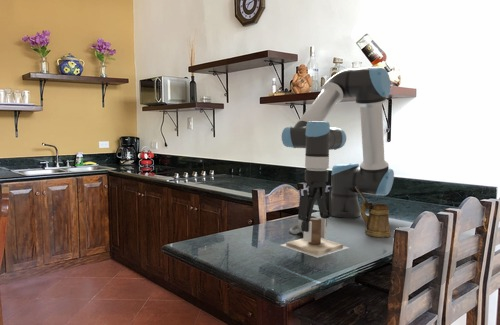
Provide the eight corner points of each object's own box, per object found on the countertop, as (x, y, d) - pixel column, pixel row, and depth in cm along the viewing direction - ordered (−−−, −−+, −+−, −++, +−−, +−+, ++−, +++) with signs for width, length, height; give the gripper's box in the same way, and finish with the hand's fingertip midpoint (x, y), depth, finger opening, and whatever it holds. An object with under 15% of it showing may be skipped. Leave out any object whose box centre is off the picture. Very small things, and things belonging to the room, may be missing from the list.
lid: (312, 238, 141) (313, 213, 140) (342, 247, 131) (343, 220, 130) (286, 245, 132) (286, 218, 131) (316, 255, 122) (317, 226, 122)
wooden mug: (351, 230, 155) (353, 184, 153) (388, 231, 153) (390, 185, 151) (354, 236, 146) (356, 187, 144) (393, 238, 144) (395, 188, 142)
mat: (312, 238, 143) (312, 236, 143) (349, 249, 131) (349, 247, 131) (279, 246, 132) (279, 245, 132) (317, 259, 120) (317, 257, 120)
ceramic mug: (315, 230, 153) (315, 210, 153) (321, 236, 145) (321, 215, 144) (287, 231, 152) (287, 211, 152) (292, 237, 144) (292, 216, 143)
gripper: (326, 166, 138) (324, 231, 140) (287, 170, 126) (285, 241, 128) (344, 168, 132) (342, 236, 135) (304, 172, 120) (303, 247, 122)
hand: (314, 239), depth 131 cm, fingers open, 6 cm apart
